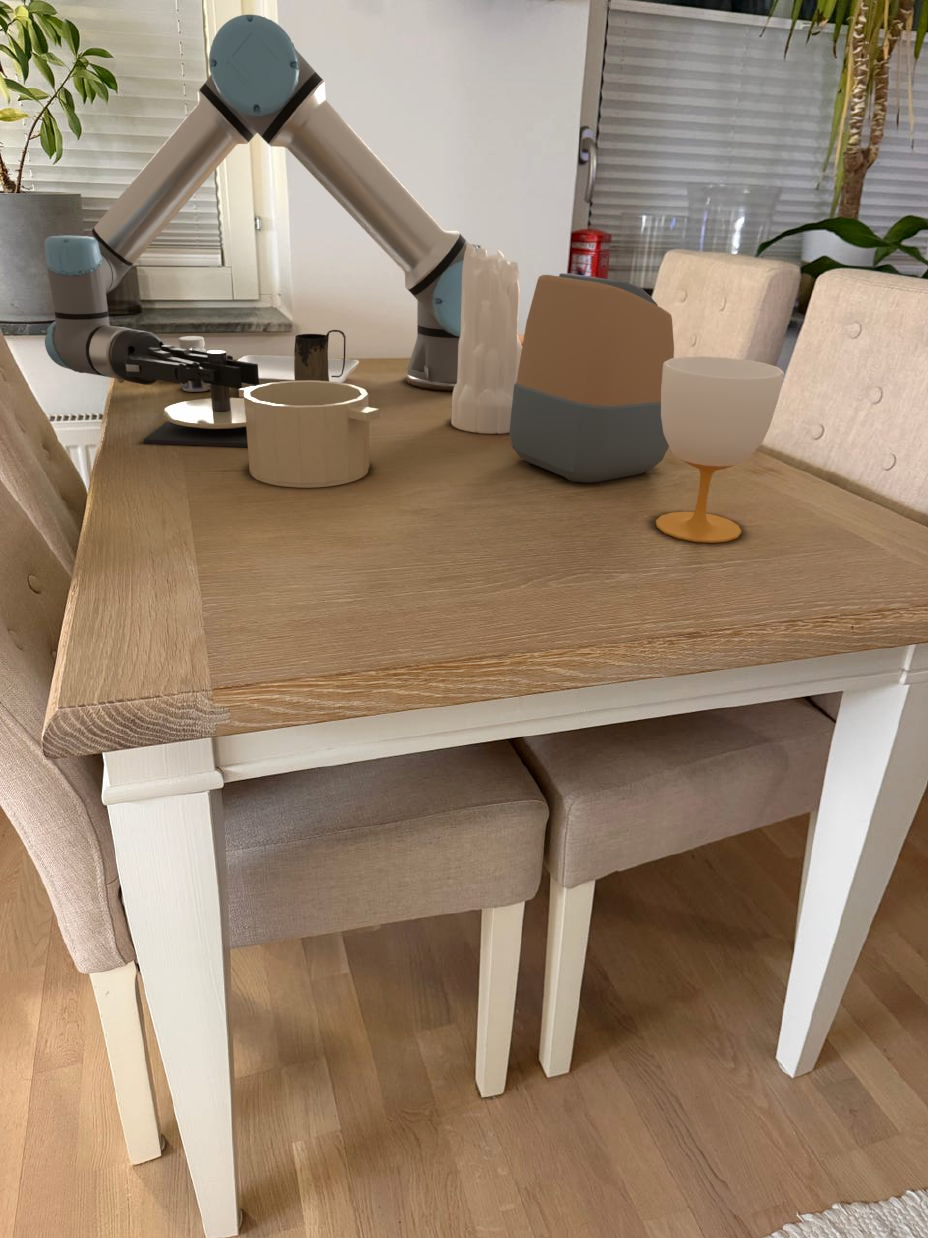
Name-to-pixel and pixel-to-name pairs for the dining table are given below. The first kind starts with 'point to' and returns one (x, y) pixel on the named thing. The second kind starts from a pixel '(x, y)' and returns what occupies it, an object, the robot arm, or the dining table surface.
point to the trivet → (197, 436)
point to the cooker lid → (210, 406)
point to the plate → (292, 369)
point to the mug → (313, 357)
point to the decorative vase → (487, 343)
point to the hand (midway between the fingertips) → (247, 376)
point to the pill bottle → (187, 344)
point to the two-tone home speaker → (591, 379)
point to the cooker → (307, 432)
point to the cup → (714, 428)
